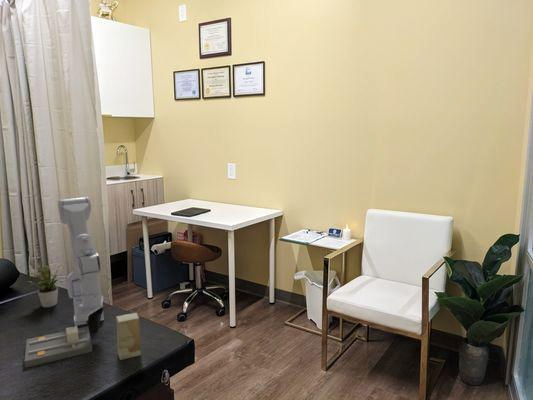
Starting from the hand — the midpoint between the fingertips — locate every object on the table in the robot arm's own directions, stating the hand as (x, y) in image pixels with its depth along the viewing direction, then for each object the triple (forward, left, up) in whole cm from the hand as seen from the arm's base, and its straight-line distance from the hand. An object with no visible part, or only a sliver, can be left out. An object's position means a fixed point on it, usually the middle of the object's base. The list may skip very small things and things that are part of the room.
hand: (94, 331), depth 133 cm
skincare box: (-8, +14, -3) cm, 17 cm away
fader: (+7, 0, -1) cm, 7 cm away
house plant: (+14, -39, -3) cm, 41 cm away
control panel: (+11, 0, -3) cm, 11 cm away
